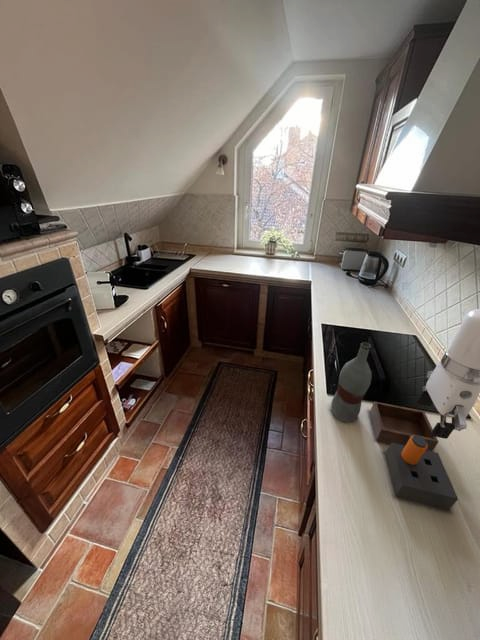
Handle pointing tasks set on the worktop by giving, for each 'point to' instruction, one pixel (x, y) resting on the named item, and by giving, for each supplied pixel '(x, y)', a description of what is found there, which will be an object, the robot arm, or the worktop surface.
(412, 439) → the screwdriver
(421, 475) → the holder
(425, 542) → the worktop surface
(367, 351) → the bottle
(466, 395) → the robot arm
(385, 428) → the tool tray
